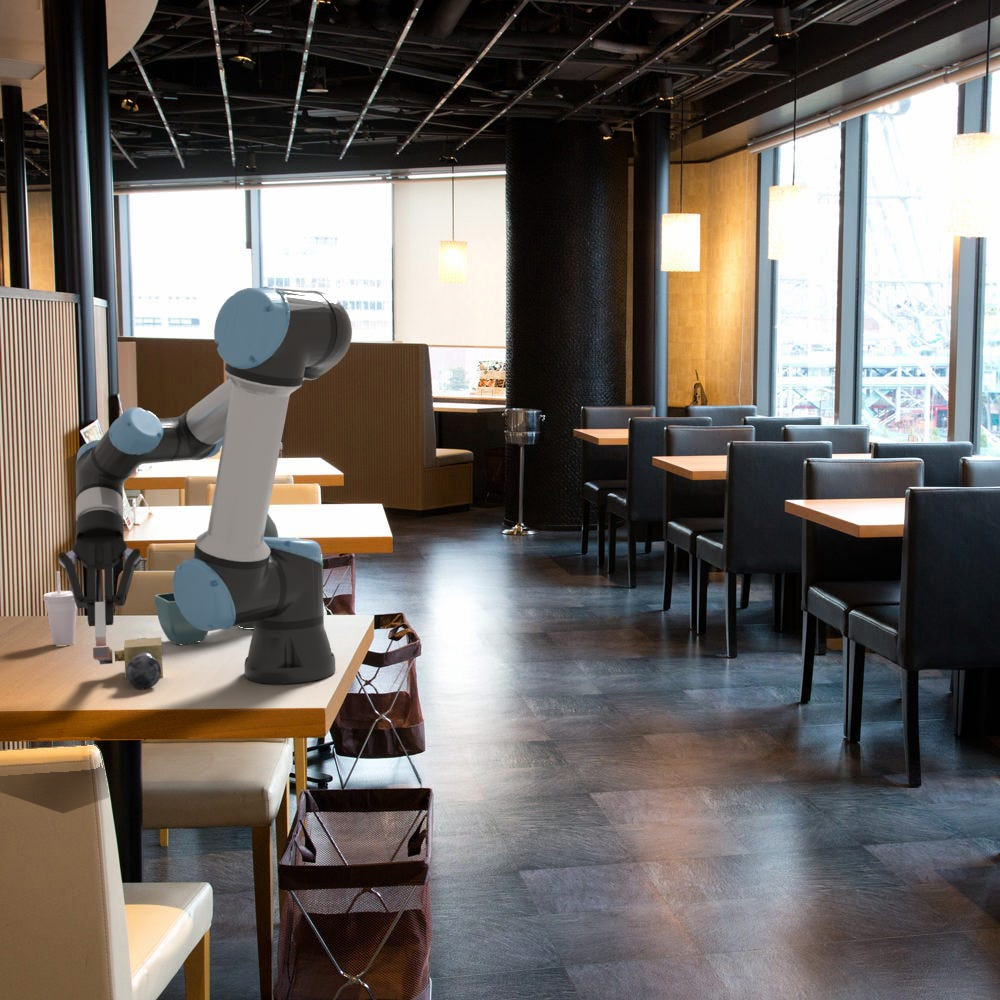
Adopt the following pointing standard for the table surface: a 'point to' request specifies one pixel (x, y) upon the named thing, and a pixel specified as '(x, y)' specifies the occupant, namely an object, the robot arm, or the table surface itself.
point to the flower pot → (176, 621)
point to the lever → (103, 655)
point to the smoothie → (61, 615)
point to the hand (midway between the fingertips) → (100, 641)
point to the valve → (142, 661)
